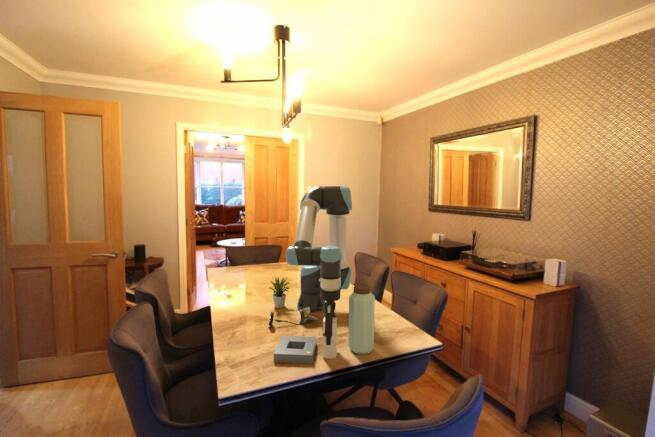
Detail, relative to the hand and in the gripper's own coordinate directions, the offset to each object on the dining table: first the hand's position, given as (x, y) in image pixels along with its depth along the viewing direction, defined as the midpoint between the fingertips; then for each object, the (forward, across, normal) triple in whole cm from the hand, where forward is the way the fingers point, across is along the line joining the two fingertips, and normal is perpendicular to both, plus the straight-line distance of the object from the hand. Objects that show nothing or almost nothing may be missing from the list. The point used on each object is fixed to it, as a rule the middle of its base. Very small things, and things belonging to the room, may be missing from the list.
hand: (329, 343), depth 118 cm
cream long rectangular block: (+5, 0, 0) cm, 5 cm away
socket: (+5, -1, -13) cm, 14 cm away
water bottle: (+5, -6, +12) cm, 14 cm away
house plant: (+5, -47, -30) cm, 56 cm away
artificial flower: (+5, -27, -19) cm, 34 cm away
